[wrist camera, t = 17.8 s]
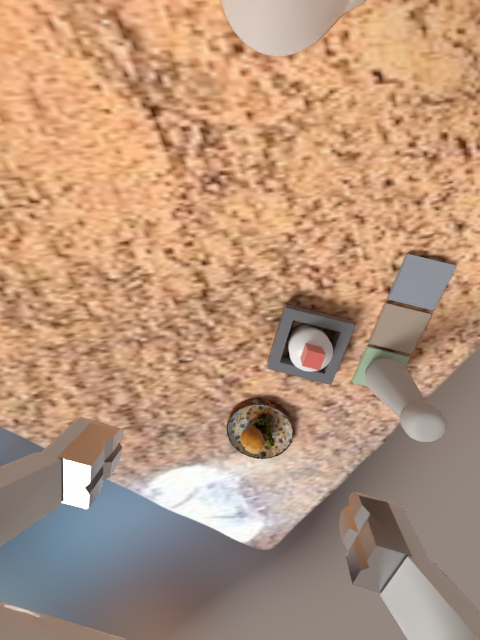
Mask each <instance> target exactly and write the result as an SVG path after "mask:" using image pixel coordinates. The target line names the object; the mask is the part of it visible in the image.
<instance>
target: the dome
mask: <svg viewBox="0 0 480 640" xmlns="http://www.w3.org/2000/svg"><path fill="white" fill-rule="evenodd" d="M288 349H289V354H290V359H291V361H292V363H293V364H294V365H295V366H296V367H297V368H299V369H301V370H304V371H309V372H312V371H318V370H320V369H322V368H324V367H326V366H327V365H328V364H329V362H330V361H331V359H332V356H333V347H332V344H331V342H330V341H329V339H328V337H327V335H326V334H325V332H324V331H323V330H322V329H321V328H320V327H318V326H314V325H310V324H305V325H301V326H299V327H297V328H295V329H294V330H293V331H292V332H291V334H290V335H289V338H288Z"/></svg>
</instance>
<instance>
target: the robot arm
mask: <svg viewBox="0 0 480 640" xmlns="http://www.w3.org/2000/svg"><path fill="white" fill-rule="evenodd" d="M365 1H366V0H221V3H222V6H223V9H224V12H225V15H226V17H227V19H228V21H229V23H230V25H231V27H232V28H233V30H234V31H235V33H236V34H237V35H238V37H239V38H240V39H241V40H242V41H243V42H244V43H245V44H247V45H248V46H249V47H251V48H252V49H254V50H256V51H258V52H260V53H263V54H266V55H271V56H286V55H291V54H294V53H297V52H300V51H302V50H304V49H306V48H308V47H310V46H311V45H312V44H314V43H315V42H317V41H318V40H319V39H320V38H321V37H322V36H323V35H324V34H325V33H326V32H327V31H328V30H329V29H330V28H331V26H332V25H333V24H334V23H335V22H336V21H337V20H338V19H339V18H340V17H341V16H342V15H343V14H344V13H346V12H348V11H350V10H352V9H353V8H355V7H357V6H359V5H360V4H362V3H363V2H365ZM122 438H123V429H121V428H117V427H114V426H111V425H108V424H104V423H101V422H98V421H94V420H90V419H87V418H83V417H81V418H78V419H76V420H75V421H74V422H73V423H72V424H71V425H70V426H69V427H68V428H67V429H66V430H65V431H64V432H62V433H61V434H60V435H59V436H58V437H57V438H56V439H55V440H54V441H53V442H52V443H51V444H50V445H49V446H48V447H47V448H45V449H44V450H43V451H42V452H41V453H37V452H35V453H33V454H31V455H28V456H26V457H23V458H21V459H18V460H16V461H14V462H11V463H9V464H6V465H4V466H1V467H0V546H1V545H3V544H4V543H6V542H7V541H9V540H10V539H12V538H13V537H15V536H16V535H18V534H19V533H21V532H22V531H23V530H25V529H26V528H28V527H29V526H31V525H32V524H34V523H35V522H36V521H38V520H40V519H41V518H43V517H44V516H46V515H47V514H49V513H50V512H52V511H53V510H54V509H56V508H57V507H59V506H60V505H61V504H62V503H65V504H69V505H73V506H78V507H81V508H85V509H89V508H90V506H91V505H92V503H93V502H94V500H95V499H96V497H97V496H98V494H99V493H100V491H101V490H102V484H103V481H104V480H105V479H107V478H109V477H110V476H111V475H112V473H113V472H114V470H115V469H116V466H117V464H118V462H119V460H120V456H121V453H122V446H121V444H120V443H119V442H120V441H121V440H122ZM348 500H349V503H350V505H349V506H347V507H345V508H343V510H342V513H341V515H340V522H339V527H340V534H341V539H342V542H343V543H344V545H345V546H346V548H347V549H348V550H349V551H348V554H347V556H346V560H347V564H348V568H349V572H350V577H351V580H352V584H354V585H356V586H360V587H363V588H366V589H369V590H372V591H375V592H379V593H381V594H380V595H381V597H382V599H383V600H384V602H385V604H386V605H387V607H388V608H389V610H390V612H391V613H392V615H393V616H394V618H395V620H396V621H397V623H398V624H399V626H400V628H401V629H402V631H403V633H404V634H405V636H406V638H407V639H408V640H480V610H479V609H478V608H477V607H476V606H475V605H474V604H473V603H472V602H471V601H470V600H469V599H468V598H467V597H466V595H465V594H464V593H463V592H462V591H461V590H460V589H459V588H458V587H457V586H456V585H455V584H454V583H453V582H452V580H451V579H450V578H449V577H448V576H447V575H446V574H445V573H444V572H443V571H442V570H441V569H440V568H439V567H438V565H437V564H436V563H432V562H430V560H429V558H428V556H427V554H426V552H425V550H424V548H423V546H422V544H421V542H420V540H419V538H418V536H417V534H416V532H415V530H414V528H413V526H412V524H411V522H410V520H409V518H408V516H407V514H406V512H405V510H404V508H403V507H402V506H401V504H399V503H395V502H392V501H388V500H383V499H381V498H377V497H373V496H369V495H365V494H361V493H358V492H354V493H352V494H351V495H350V497H349V499H348ZM0 640H128V639H124V638H121V637H117V636H114V635H111V634H108V633H104V632H101V631H97V630H94V629H91V628H87V627H84V626H80V625H77V624H74V623H71V622H67V621H64V620H61V619H57V618H54V617H51V616H47V615H44V614H40V613H37V612H34V611H30V610H27V609H24V608H20V607H17V606H13V605H10V604H7V603H4V602H0Z"/></svg>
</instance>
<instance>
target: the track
mask: <svg viewBox="0 0 480 640" xmlns="http://www.w3.org/2000/svg"><path fill="white" fill-rule="evenodd" d="M455 268H456V265H452V264H448V263H444V262H440V261H435V260H431V259H427V258H423V257H419V256H415V255H410V254H406V256H405V258H404V260H403V263H402V265H401V267H400V270H399V272H398V274H397V277H396V279H395V281H394V283H393V286H392V288H391V290H390V293H389V295H388V297H387V299H389V300H393V301H397V302H401V303H405V304H409V305H413V306H417V307H421V308H425V309H429V310H433V311H434V309H435V307H436V305H437V303H438V301H439V299H440V297H441V295H442V293H443V291H444V289H445V287H446V286H447V284H448V282H449V280H450V278H451V276H452V274H453V272H454V270H455ZM431 315H432V314H430V313H426V312H422V311H418V310H414V309H410V308H405V307H401V306H397V305H393V304H389V303H385V304H384V307H383V309H382V311H381V313H380V316H379V318H378V320H377V323H376V325H375V327H374V330H373V332H372V334H371V337H370V339H369V341H368V343H369V344H373V345H377V346H381V347H385V348H389V349H393V350H397V351H401V352H405V353H409V354H412V353H413V351H414V349H415V347H416V345H417V343H418V341H419V339H420V337H421V335H422V333H423V331H424V329H425V327H426V325H427V323H428V321H429V319H430V317H431ZM382 358H389V359H394V360H396V361H398V362H400V363H401V364H403V365H404V366H405V367H406V365H407V363H408V361H409V359H410V357H409V356H406V355H402V354H398V353H394V352H390V351H386V350H382V349H378V348H374V347H370V346H366V348H365V350H364V353H363V355H362V357H361V360H360V362H359V364H358V367H357V369H356V371H355V373H354V376H353V378H352V380H351V381H352V383H355V384H359V385H363V386H367V385H366V381H365V370H366V368H367V367H368V365H369V364H370V363H371V361H372V360H375V359H382ZM367 387H368V386H367Z"/></svg>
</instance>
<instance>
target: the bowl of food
mask: <svg viewBox="0 0 480 640" xmlns="http://www.w3.org/2000/svg"><path fill="white" fill-rule="evenodd" d="M292 424H293V423H292V421H291V419H290V418H289V417H288V415H287V414H286V410H285V408H284V409H282V407H281V405H278V404H274V405H272V404H270V402H269V401H267V400H266V399H263V398H262V399H261V398H260V399H257V398H256V399H254V400H249V401H248V402H241V403H240V404H238V405H237V406H236V407H235V409H233V410H232V411H231V412H230V414H229V417H228V421H227V435H228V438H229V441H230V442H231V444H232V445H233V446H234V447H235V448H236V449H237V450H238V451H239V452H241V453H242V454H245V455H247V456H249V457H253V458H258V459H259V458H261V459H265V458H272V457H275V456H278V455H280V454H281V453H283V452H284V451H285V450H286V449H287V448H288V447H289V446H290V444H291V443H292V436H293V426H292Z"/></svg>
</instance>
